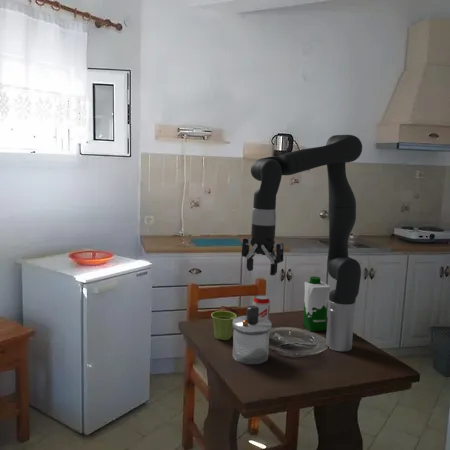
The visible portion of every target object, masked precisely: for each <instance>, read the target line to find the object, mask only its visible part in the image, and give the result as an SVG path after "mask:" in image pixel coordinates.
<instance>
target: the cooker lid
mask: <svg viewBox="0 0 450 450" xmlns="http://www.w3.org/2000/svg"><path fill="white" fill-rule="evenodd" d="M245 314H246V315H241V316H238V317H237V318H235V319H233V327H234V328H235V329H237V330H240V331H243V332H250V333H260V332H265V331H268V330H271V329H272V327H273V326H272V324H273V323H272V321H271V320H270V319H269V320H268V319H266V318H263V317H259V316H258V315H259V307H257V306H253V305H247V306H246V313H245ZM234 328H233V329H234Z"/></svg>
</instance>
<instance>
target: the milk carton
mask: <svg viewBox="0 0 450 450" xmlns="http://www.w3.org/2000/svg"><path fill="white" fill-rule="evenodd" d="M331 288H332V287H331V286H330V285H328V283H325V282H323V281H322V280H321V277H319V276H310V278H309V281H304V301H303V302H304V304H303V315H302V316H303V317H302V326H303V327H304V328H306V329H307V330H308V331H310V332H320V331H321V332H322V331H327V319H328V305H329V293H330V292H331Z"/></svg>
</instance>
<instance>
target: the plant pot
mask: <svg viewBox="0 0 450 450" xmlns="http://www.w3.org/2000/svg"><path fill="white" fill-rule="evenodd" d="M210 316H211V318H212V322H213V324H212V325H213V333H214V338H215V340H222V341H228V340H230V339H231V338H232V335H233V331H234V328H233V319H235V318H236V317H237V315H236V314H235V313H232V312H228V311H218V310H216V311H214V312H211V315H210Z"/></svg>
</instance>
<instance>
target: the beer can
mask: <svg viewBox="0 0 450 450" xmlns="http://www.w3.org/2000/svg"><path fill="white" fill-rule="evenodd" d="M252 306H257V307H259V315H258V316H259V317H263V318H266V319H268V320H270V310H271V309H270V307H271V300H270V297H269V296H268V295H265V294H257V295H255V296H254V299H253V301H252Z"/></svg>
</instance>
